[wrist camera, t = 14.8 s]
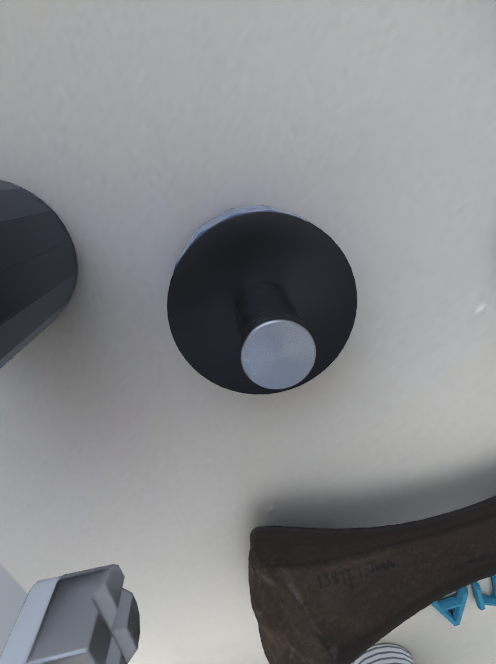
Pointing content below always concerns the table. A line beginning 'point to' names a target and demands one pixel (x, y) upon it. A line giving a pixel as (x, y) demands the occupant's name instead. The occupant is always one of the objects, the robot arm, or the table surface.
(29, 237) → the pot
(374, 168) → the table surface
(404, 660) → the cup
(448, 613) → the nameplate
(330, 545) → the dark brown bone
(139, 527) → the table surface
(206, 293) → the lid
